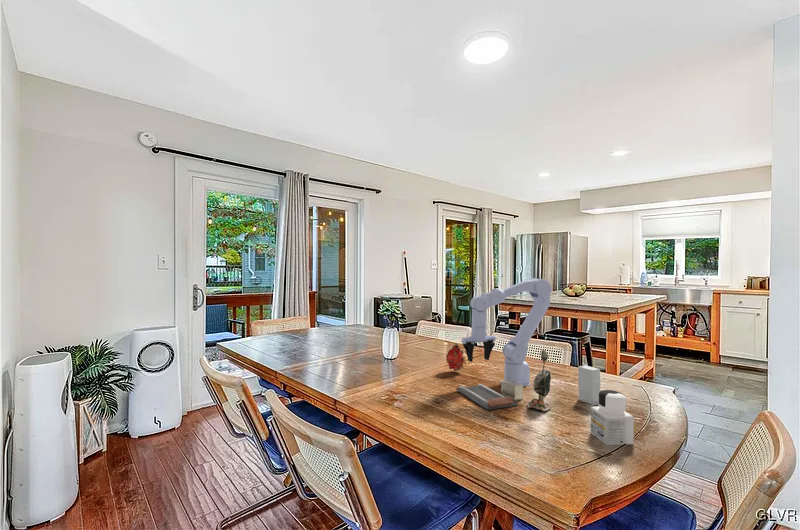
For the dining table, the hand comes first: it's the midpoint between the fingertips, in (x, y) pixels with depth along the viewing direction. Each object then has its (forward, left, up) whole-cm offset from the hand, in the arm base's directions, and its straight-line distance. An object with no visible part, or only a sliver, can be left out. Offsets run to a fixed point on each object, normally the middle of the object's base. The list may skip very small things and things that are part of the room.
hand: (478, 360), depth 154 cm
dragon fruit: (0, -18, -10) cm, 21 cm away
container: (-9, +54, -10) cm, 55 cm away
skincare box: (-26, +30, -10) cm, 41 cm away
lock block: (-4, +16, -10) cm, 19 cm away
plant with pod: (-7, +28, -10) cm, 30 cm away
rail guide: (+6, +13, -9) cm, 17 cm away
